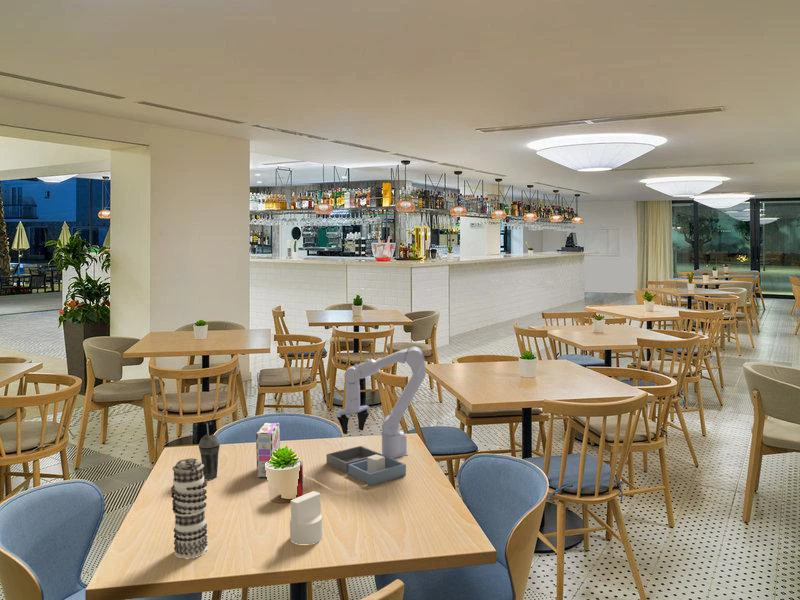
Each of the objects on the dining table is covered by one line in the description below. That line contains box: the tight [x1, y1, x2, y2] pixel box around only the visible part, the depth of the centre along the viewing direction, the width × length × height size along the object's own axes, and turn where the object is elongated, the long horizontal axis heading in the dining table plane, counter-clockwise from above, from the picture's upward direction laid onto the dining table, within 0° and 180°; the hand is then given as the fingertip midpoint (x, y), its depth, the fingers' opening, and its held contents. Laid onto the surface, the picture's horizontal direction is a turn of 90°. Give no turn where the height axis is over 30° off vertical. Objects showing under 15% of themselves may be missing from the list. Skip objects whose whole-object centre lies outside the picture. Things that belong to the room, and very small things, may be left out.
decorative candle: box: [170, 457, 208, 559], centre depth 170 cm, size 9×9×25 cm
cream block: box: [367, 455, 385, 473], centre depth 227 cm, size 4×4×6 cm
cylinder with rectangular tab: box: [289, 490, 323, 545], centre depth 178 cm, size 9×9×12 cm
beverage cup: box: [198, 422, 221, 480], centre depth 225 cm, size 7×7×20 cm
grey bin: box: [326, 445, 381, 474], centre depth 238 cm, size 16×13×4 cm
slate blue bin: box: [347, 455, 407, 487], centre depth 227 cm, size 16×13×4 cm
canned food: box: [296, 459, 304, 498], centre depth 209 cm, size 8×8×11 cm
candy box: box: [255, 422, 281, 479], centre depth 231 cm, size 14×6×16 cm, turn 179°
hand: (353, 431), depth 249 cm, fingers open, 7 cm apart
